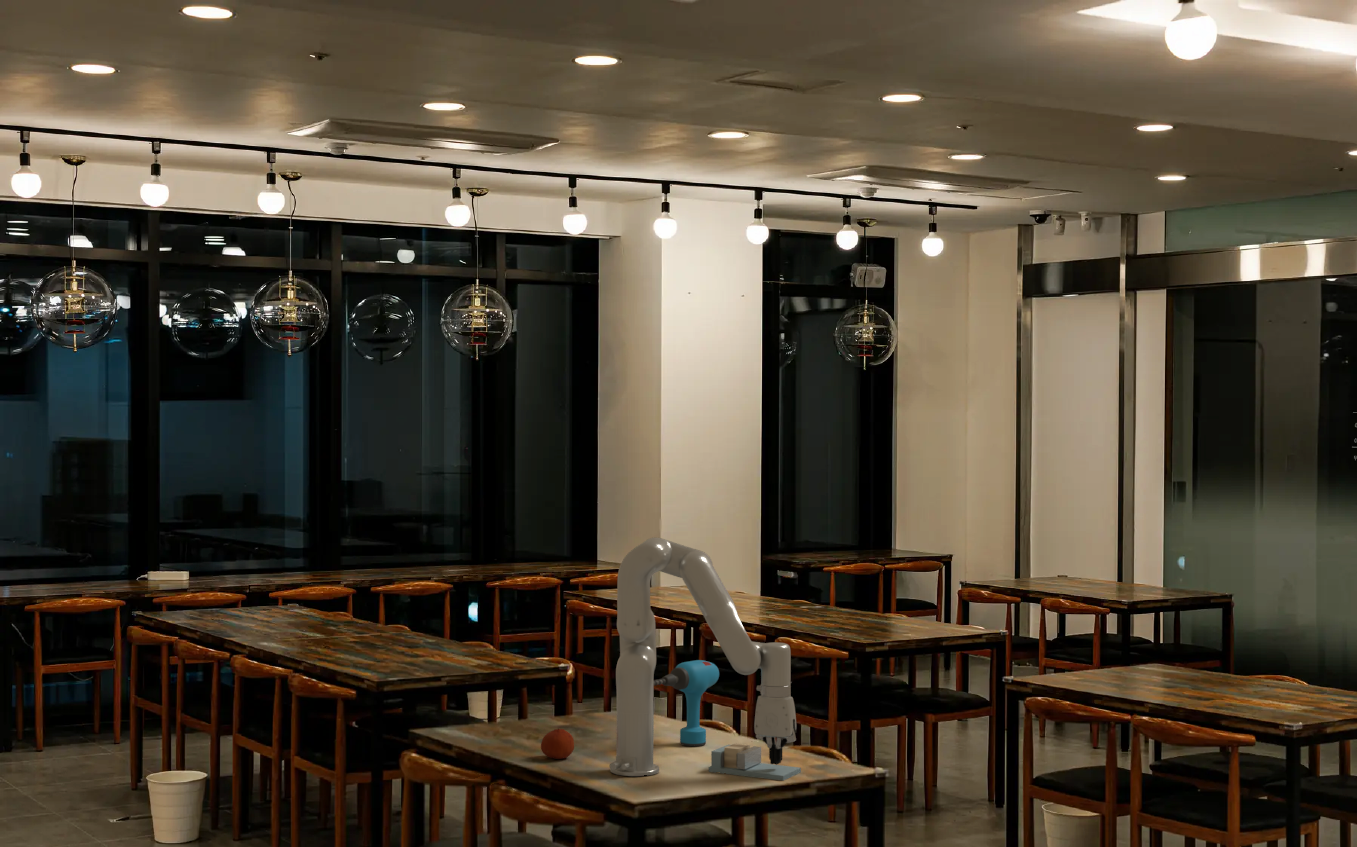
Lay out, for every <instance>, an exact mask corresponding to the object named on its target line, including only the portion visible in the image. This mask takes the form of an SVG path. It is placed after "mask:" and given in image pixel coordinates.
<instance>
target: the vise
mask: <svg viewBox="0 0 1357 847" xmlns="http://www.w3.org/2000/svg"><path fill="white" fill-rule="evenodd" d="M730 745H731V744H726V745H724V746H721V747H719V748H716V749H713V750H711V756H710V757H711V758H710V760H711V762H710V763H711V765H710V766H708V772H709V773H716V772H720V773H719V774H724V773H726V775H727V774H728V775H734V776H742V777H751V778H756V779H757V778H759V779H760V778H761V779H765V780H766V779H767V780H773V781H776V780H777V781H783V782H784V781H786V780H788V779H789V778H792V777H795V776H796V775H798V774H801V773H802V772H801V771H802V768H801V767H798V766H789V765H783V764H782V765H780V764H777V765H776V764H771V763H765V762H761V763H759V764H756V765H754V766H752V767H750V768H747V769H745V770H744V769H737V768H728V767H724V748H725V747H727V746H730Z"/></svg>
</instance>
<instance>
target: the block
mask: <svg viewBox="0 0 1357 847" xmlns="http://www.w3.org/2000/svg"><path fill="white" fill-rule="evenodd" d="M729 745H730V746H727V747H725V748H724V767H728V768H737V753H739V752H741V751H744V750H746V749H749V748H751V744H750V743H740V742H735V743H732V744H729Z"/></svg>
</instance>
